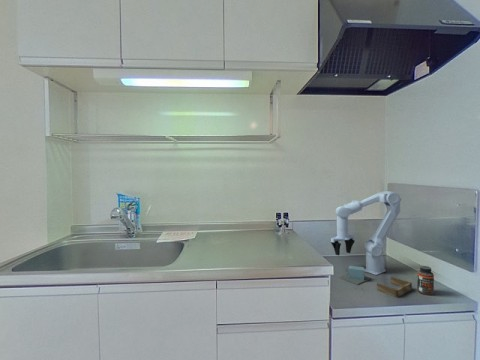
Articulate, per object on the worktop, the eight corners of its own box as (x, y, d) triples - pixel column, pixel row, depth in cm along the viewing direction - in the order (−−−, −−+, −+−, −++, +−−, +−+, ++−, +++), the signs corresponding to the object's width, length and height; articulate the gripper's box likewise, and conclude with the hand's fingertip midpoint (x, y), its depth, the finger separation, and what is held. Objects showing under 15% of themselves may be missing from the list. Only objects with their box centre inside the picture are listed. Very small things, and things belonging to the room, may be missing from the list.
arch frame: (391, 282, 128) (391, 276, 128) (411, 289, 121) (411, 283, 121) (377, 290, 122) (377, 283, 122) (397, 297, 114) (397, 290, 114)
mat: (353, 273, 142) (353, 271, 142) (371, 279, 133) (371, 278, 133) (339, 278, 136) (339, 277, 136) (357, 285, 127) (357, 283, 127)
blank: (349, 275, 138) (349, 265, 137) (364, 277, 134) (364, 267, 134) (348, 278, 134) (348, 268, 134) (363, 280, 131) (363, 270, 131)
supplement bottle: (421, 295, 116) (421, 269, 115) (414, 289, 121) (414, 264, 121) (436, 295, 115) (436, 269, 114) (429, 289, 121) (428, 264, 120)
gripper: (337, 232, 138) (337, 258, 138) (358, 228, 143) (358, 253, 144) (327, 229, 144) (328, 254, 145) (348, 226, 150) (348, 250, 150)
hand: (342, 253), depth 145 cm, fingers open, 7 cm apart
